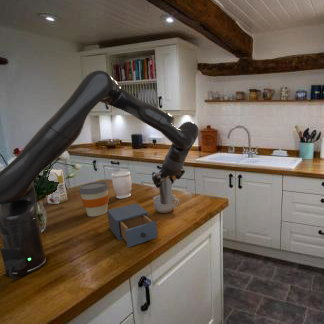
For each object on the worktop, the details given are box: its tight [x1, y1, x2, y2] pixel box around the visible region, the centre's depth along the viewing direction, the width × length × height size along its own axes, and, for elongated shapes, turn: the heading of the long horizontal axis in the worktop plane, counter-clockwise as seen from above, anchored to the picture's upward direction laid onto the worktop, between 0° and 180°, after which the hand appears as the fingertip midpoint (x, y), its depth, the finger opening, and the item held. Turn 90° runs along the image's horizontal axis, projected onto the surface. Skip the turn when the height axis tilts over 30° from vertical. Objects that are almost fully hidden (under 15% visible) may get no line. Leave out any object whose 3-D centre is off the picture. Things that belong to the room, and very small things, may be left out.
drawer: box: [119, 215, 159, 248], centre depth 101 cm, size 15×11×7 cm
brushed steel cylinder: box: [158, 178, 174, 204], centre depth 108 cm, size 5×5×12 cm
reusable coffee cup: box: [78, 181, 110, 217], centre depth 126 cm, size 13×13×15 cm
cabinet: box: [107, 202, 150, 241], centre depth 109 cm, size 15×13×9 cm
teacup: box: [152, 194, 180, 214], centre depth 128 cm, size 14×11×8 cm
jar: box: [110, 170, 132, 200], centre depth 151 cm, size 11×10×15 cm
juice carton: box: [46, 168, 68, 205], centre depth 142 cm, size 8×9×19 cm
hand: (163, 184), depth 109 cm, fingers closed on brushed steel cylinder, 5 cm apart
